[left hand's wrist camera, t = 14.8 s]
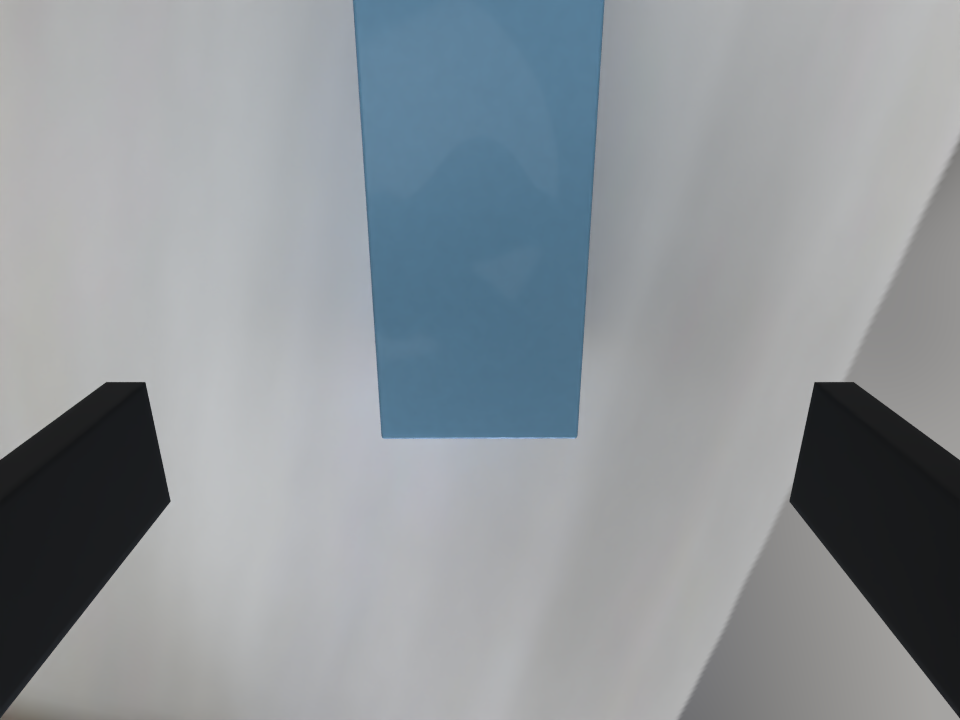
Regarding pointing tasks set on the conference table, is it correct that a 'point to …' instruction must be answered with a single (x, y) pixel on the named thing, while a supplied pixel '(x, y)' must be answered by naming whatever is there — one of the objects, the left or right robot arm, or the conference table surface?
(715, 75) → the conference table surface
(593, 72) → the blue box
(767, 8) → the conference table surface
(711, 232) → the conference table surface
